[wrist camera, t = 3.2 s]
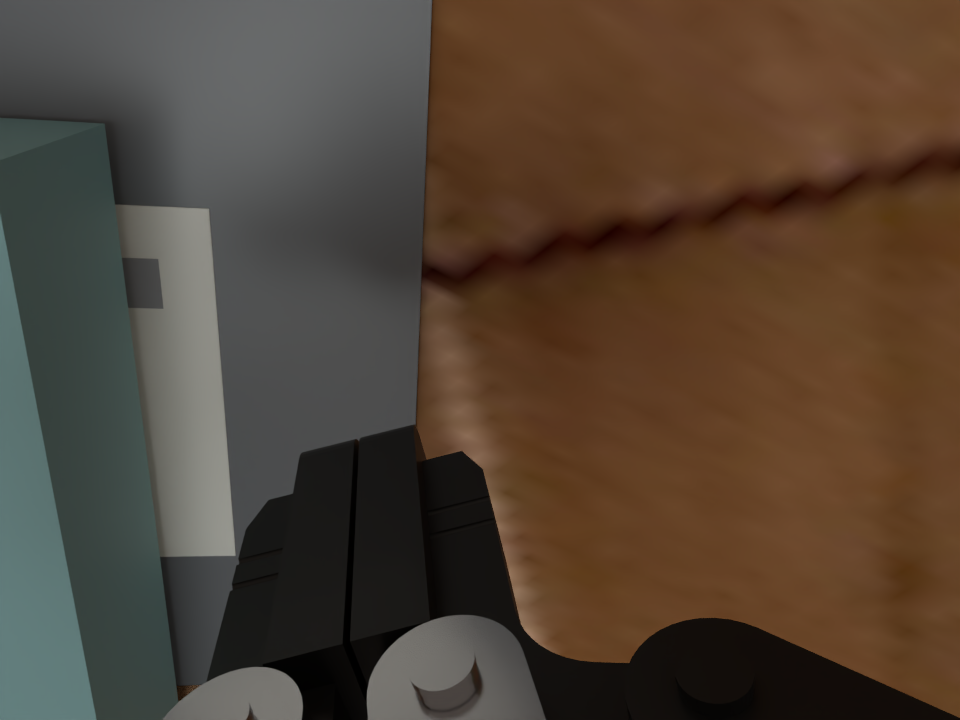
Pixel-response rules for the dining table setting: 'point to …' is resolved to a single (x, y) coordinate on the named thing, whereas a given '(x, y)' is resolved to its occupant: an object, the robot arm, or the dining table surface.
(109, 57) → the label panel
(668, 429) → the dining table surface
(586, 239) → the dining table surface
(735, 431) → the dining table surface
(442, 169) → the dining table surface
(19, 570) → the block
